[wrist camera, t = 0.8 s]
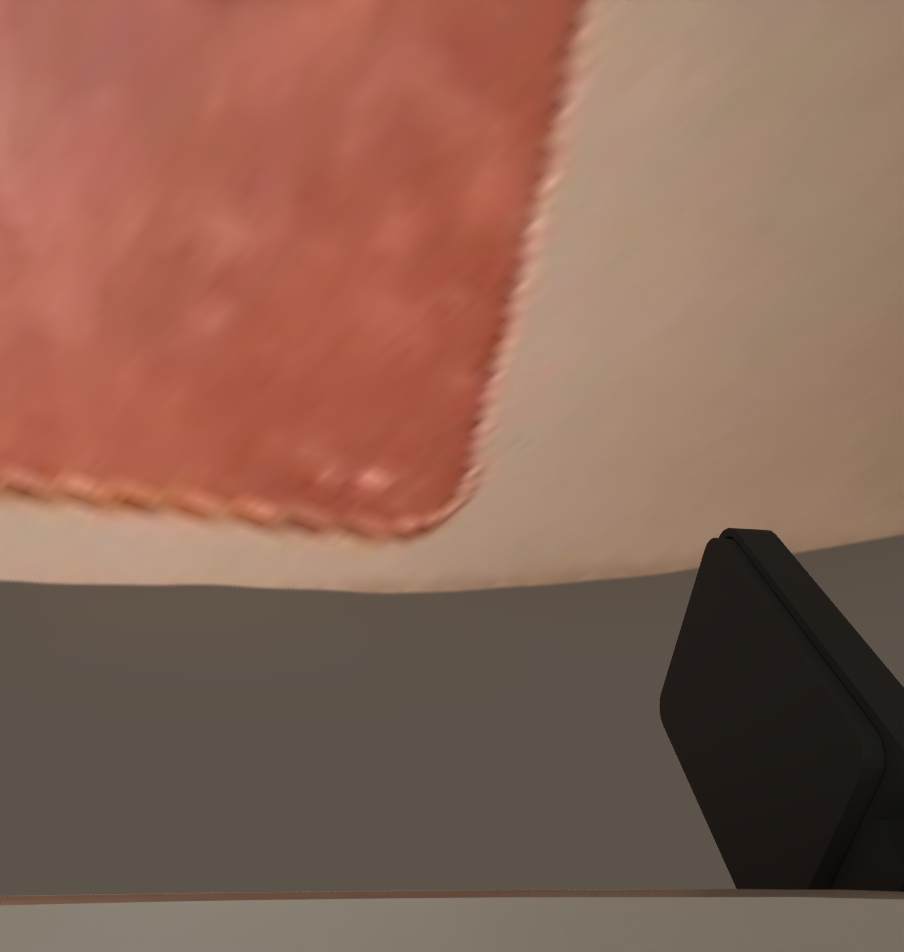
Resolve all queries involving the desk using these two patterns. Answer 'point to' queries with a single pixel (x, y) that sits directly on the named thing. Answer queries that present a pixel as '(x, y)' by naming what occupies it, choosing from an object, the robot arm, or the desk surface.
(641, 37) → the desk surface
